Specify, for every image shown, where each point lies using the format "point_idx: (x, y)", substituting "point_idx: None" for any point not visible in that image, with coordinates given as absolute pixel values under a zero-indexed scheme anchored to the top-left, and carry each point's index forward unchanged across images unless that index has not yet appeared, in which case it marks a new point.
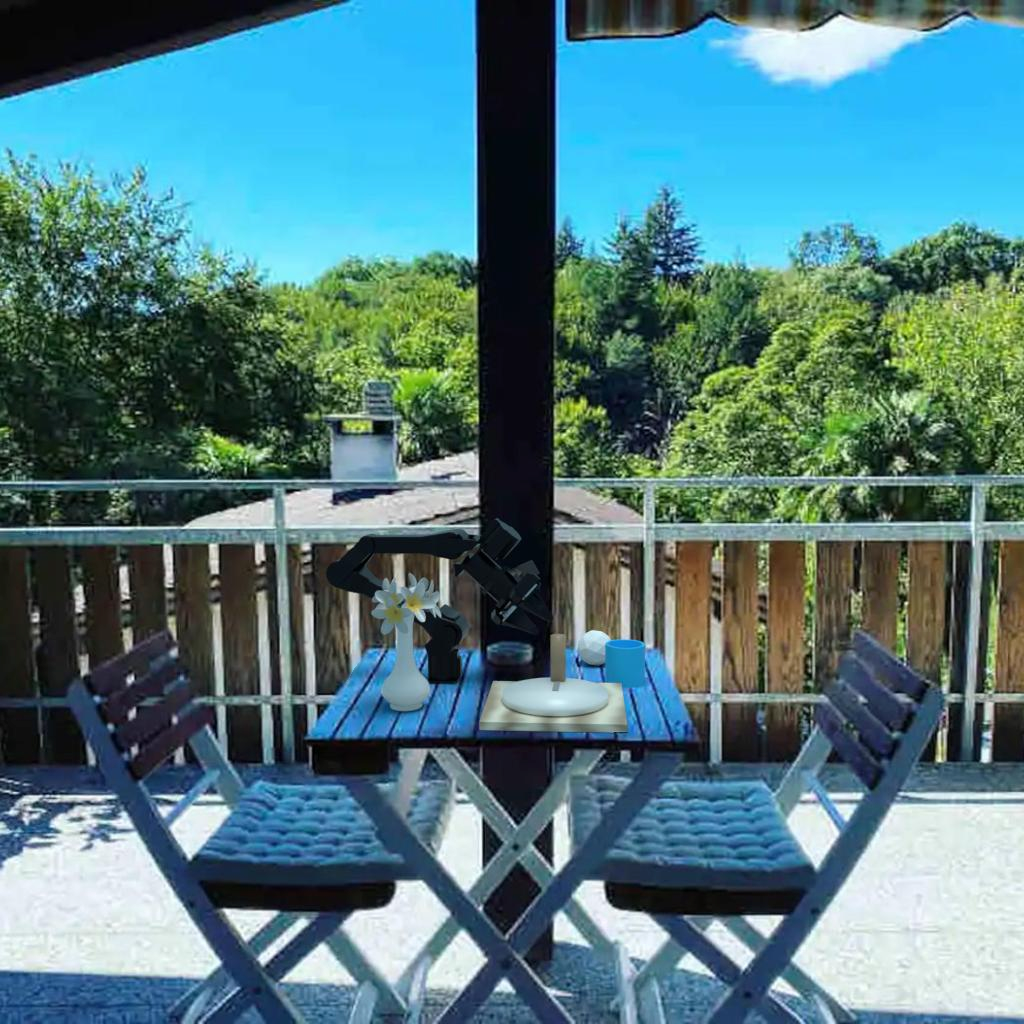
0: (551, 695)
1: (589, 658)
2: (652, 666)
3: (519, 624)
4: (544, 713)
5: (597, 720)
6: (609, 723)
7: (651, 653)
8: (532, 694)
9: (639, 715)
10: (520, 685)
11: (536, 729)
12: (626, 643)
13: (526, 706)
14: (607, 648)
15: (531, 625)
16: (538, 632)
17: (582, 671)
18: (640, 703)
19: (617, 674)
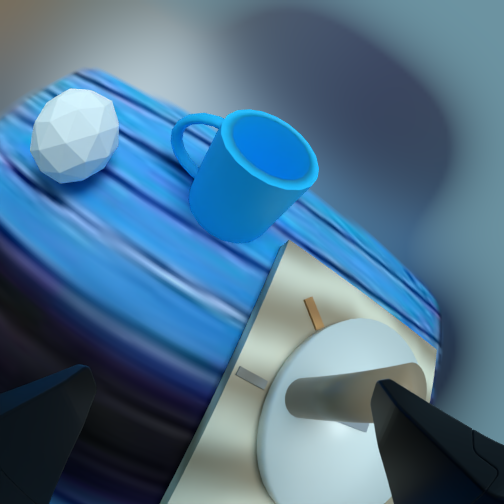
0: None
1: (89, 176)
2: (163, 108)
3: (45, 481)
4: None
5: (426, 381)
6: (432, 369)
7: (101, 72)
8: (368, 472)
9: (390, 303)
10: (309, 494)
11: None
12: (236, 126)
13: None
14: (271, 191)
15: (57, 409)
16: (92, 375)
17: (102, 222)
18: (350, 267)
19: (271, 224)
